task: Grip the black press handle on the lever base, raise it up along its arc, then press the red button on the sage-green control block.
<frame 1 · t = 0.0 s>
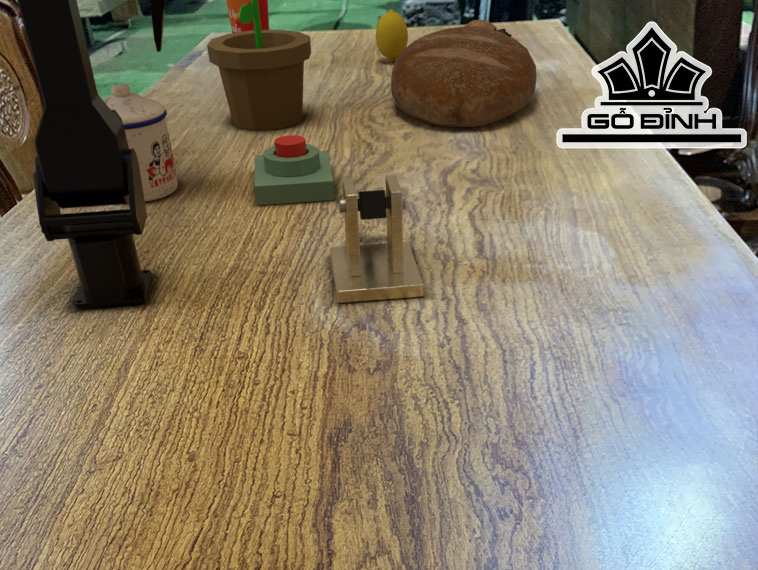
hand: (117, 53, 91), 15 cm above the table, tool pointing down, fingers open, 9 cm apart
flowerpot: (268, 120, 121), on the table
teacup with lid: (146, 187, 101), on the table
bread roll: (480, 43, 155), on the table
paper cup: (255, 70, 144), on the table
control block: (294, 186, 100), on the table
press lever: (368, 204, 80), point 5 cm above the table, hinge at -20.0°
bread: (462, 97, 128), on the table
lemon: (392, 63, 145), on the table
cancel button: (290, 147, 97), point 4 cm above the table, slide at 0.1 cm
lever base: (375, 276, 80), on the table
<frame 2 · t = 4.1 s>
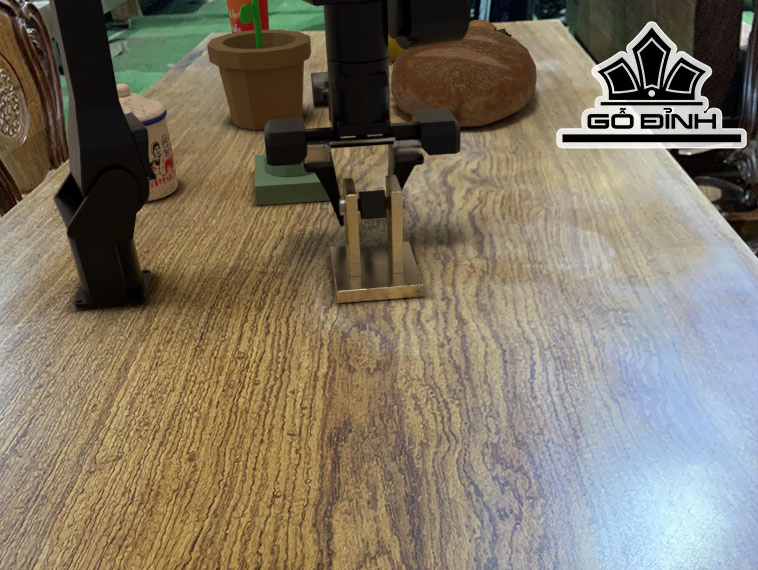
hand: (365, 223, 86), 2 cm above the table, tool pointing down, fingers closed on press lever, 4 cm apart
press lever: (368, 204, 80), point 5 cm above the table, hinge at -20.0°, touching gripper
everything else where it was.
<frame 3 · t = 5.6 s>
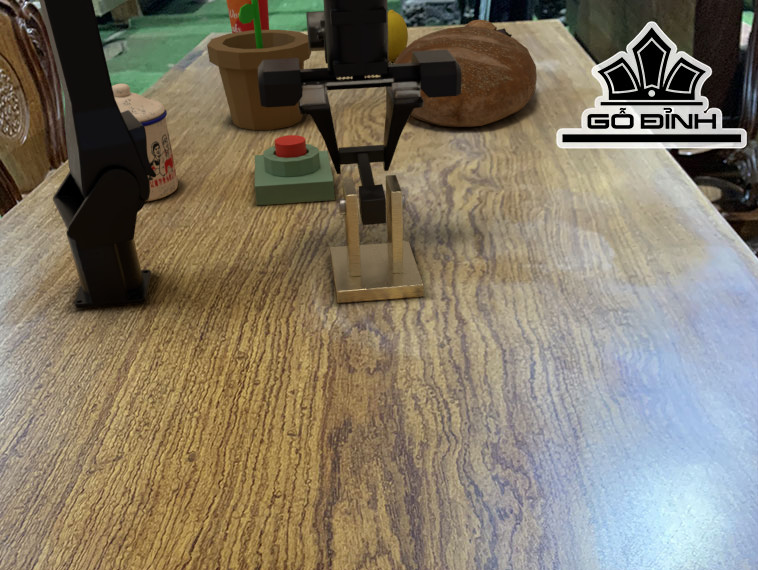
hand: (362, 171, 83), 7 cm above the table, tool pointing down, fingers closed on press lever, 4 cm apart
press lever: (367, 180, 79), point 8 cm above the table, hinge at 7.8°, touching gripper
everything else where it was.
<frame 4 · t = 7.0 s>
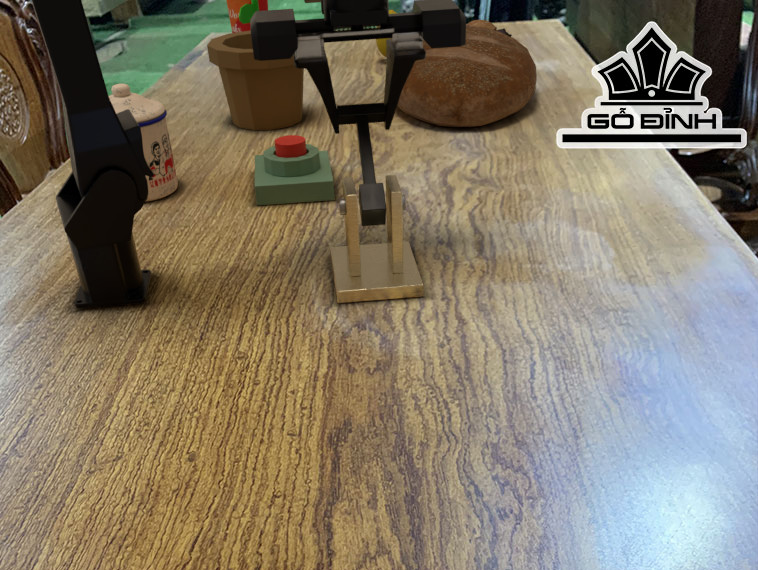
hand: (362, 130, 79), 11 cm above the table, tool pointing down, fingers closed on press lever, 4 cm apart
press lever: (367, 162, 77), point 10 cm above the table, hinge at 33.8°, touching gripper
everything else where it was.
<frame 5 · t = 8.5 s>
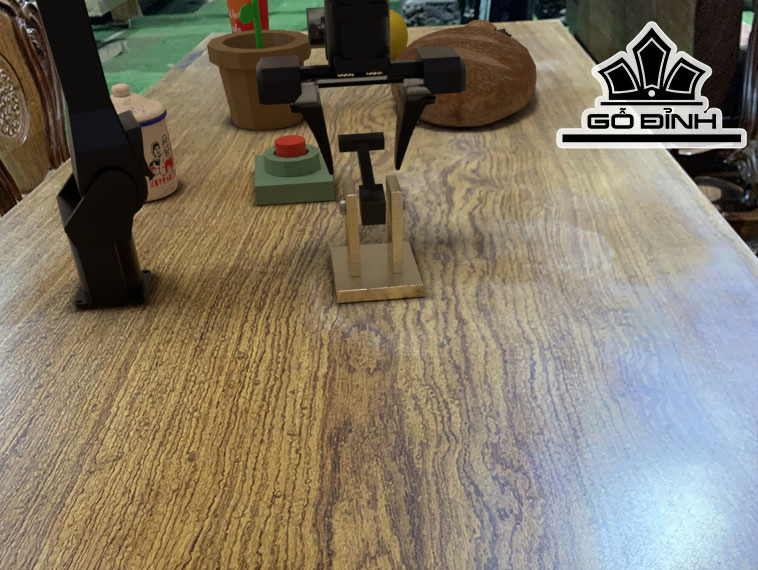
hand: (364, 171, 81), 7 cm above the table, tool pointing down, fingers open, 6 cm apart
press lever: (367, 174, 78), point 8 cm above the table, hinge at 15.0°
everything else where it was.
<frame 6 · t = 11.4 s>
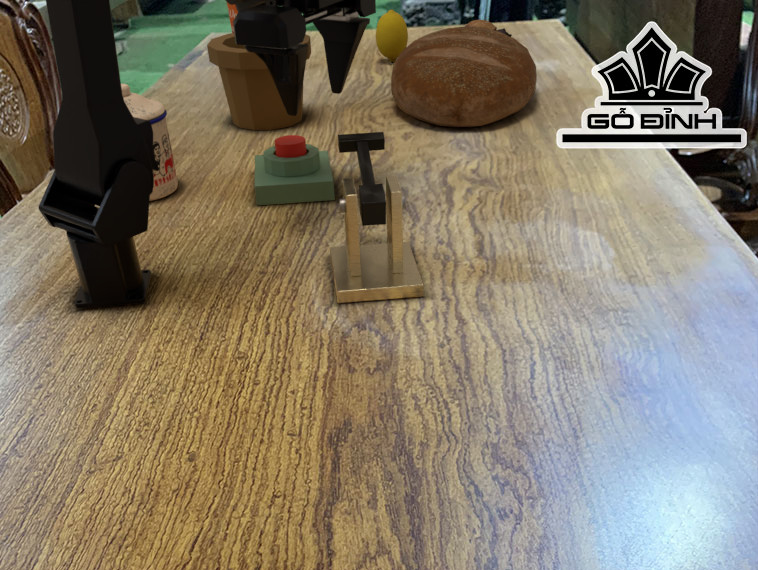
hand: (315, 103, 90), 10 cm above the table, tool pointing down, fingers open, 9 cm apart
nothing on the table moved.
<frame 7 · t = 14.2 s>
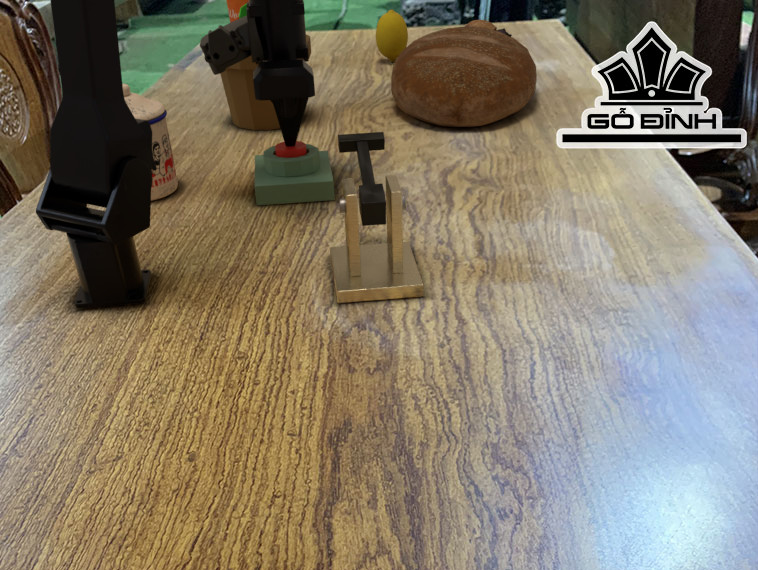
hand: (290, 145, 97), 5 cm above the table, tool pointing down, fingers closed, pressing on cancel button
cancel button: (291, 153, 97), point 4 cm above the table, slide at -0.5 cm, touching gripper
everything else where it was.
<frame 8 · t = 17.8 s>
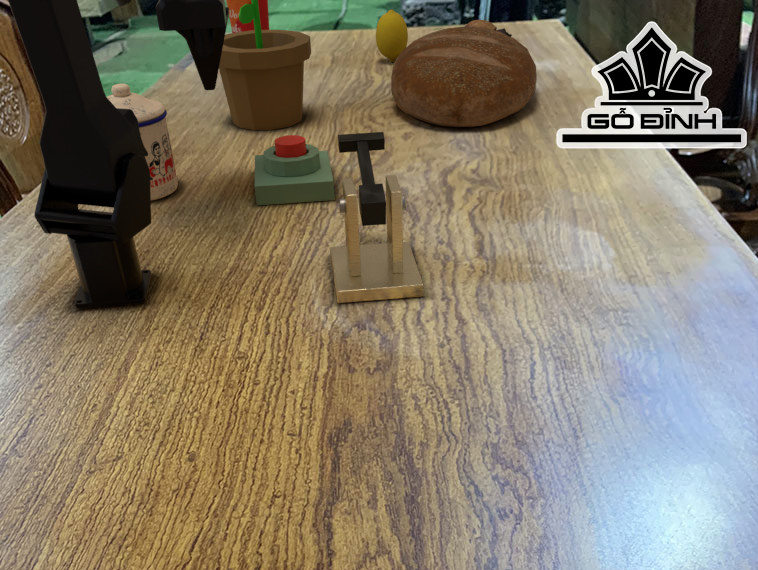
hand: (210, 89, 89), 12 cm above the table, tool pointing down, fingers closed
cancel button: (290, 147, 97), point 4 cm above the table, slide at 0.1 cm
everything else where it was.
at the end: press lever at +15° (first picture: -20°); cancel button pushed in 1.1 cm at the most during the clip, back to where it started at the end; cancel button slide at 0.1 cm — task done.
